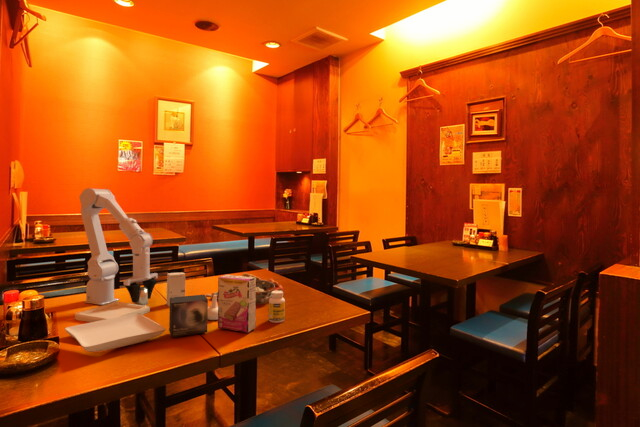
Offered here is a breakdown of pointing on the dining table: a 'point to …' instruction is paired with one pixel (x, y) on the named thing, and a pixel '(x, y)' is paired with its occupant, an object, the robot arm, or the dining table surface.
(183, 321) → the small box
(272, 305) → the supplement bottle
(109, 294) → the robot arm
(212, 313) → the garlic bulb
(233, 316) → the candy bar box
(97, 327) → the salad plate
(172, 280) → the skincare box
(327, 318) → the dining table surface
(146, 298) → the cylinder
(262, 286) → the food tray
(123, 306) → the tray
